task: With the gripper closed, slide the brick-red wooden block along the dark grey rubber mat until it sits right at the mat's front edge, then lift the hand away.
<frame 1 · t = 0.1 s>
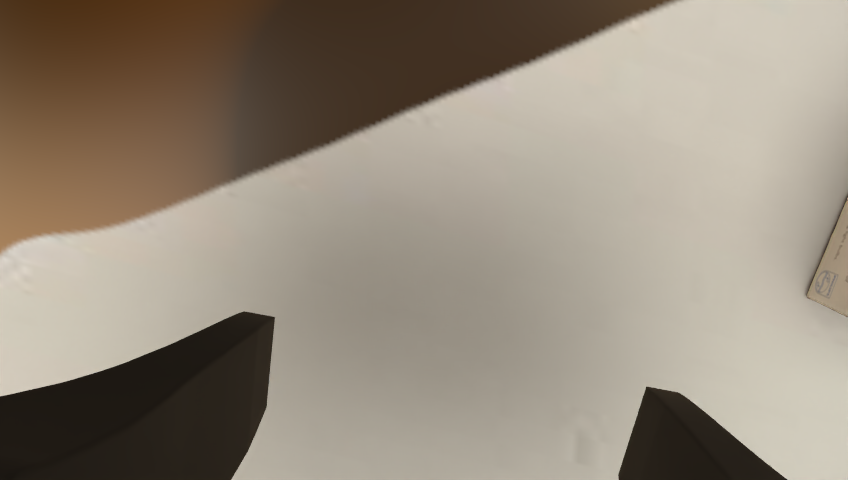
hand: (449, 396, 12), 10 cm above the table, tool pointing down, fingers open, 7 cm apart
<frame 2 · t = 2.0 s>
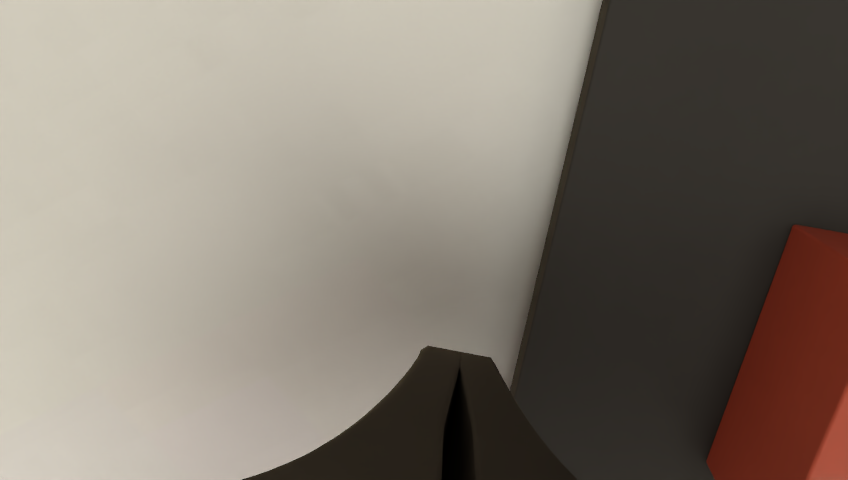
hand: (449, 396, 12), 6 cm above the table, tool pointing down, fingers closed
block: (842, 368, 17), point 1 cm above the table, touching mat
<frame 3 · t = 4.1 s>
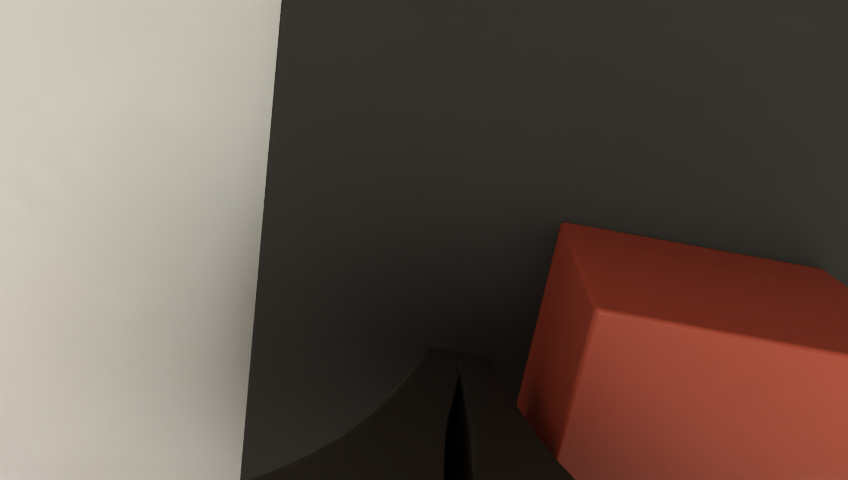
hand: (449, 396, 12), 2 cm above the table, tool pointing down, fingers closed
mat: (846, 417, 14), on the table
block: (641, 401, 13), point 1 cm above the table, touching gripper, mat
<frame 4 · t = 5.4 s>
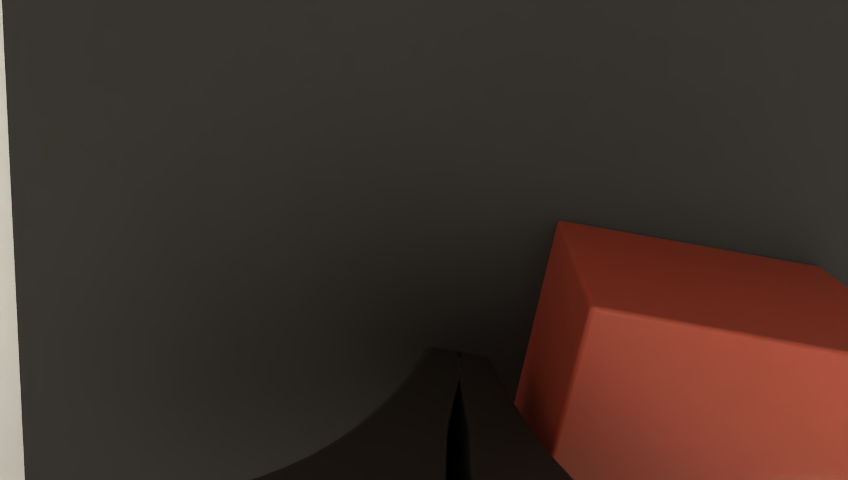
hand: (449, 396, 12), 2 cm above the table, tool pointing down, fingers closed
mat: (610, 373, 14), on the table
block: (639, 399, 13), point 1 cm above the table, touching gripper
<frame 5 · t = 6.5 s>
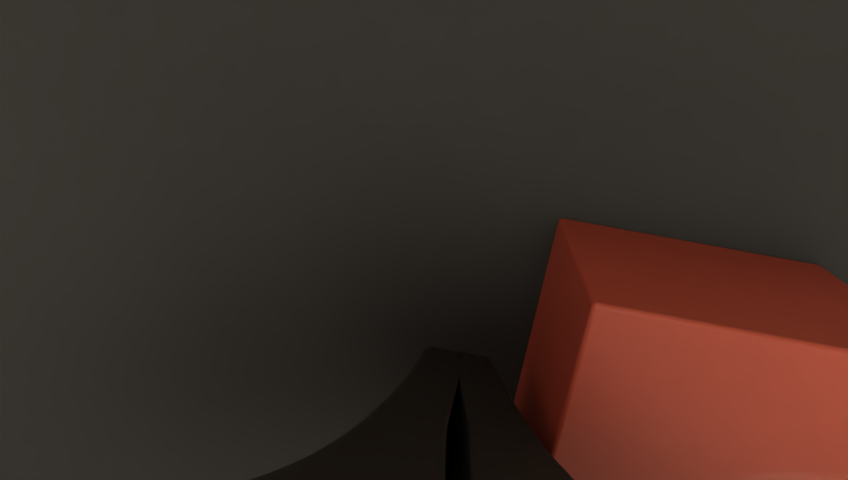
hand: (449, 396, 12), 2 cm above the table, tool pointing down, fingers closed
mat: (415, 336, 15), on the table
block: (639, 397, 13), point 1 cm above the table, touching gripper, mat
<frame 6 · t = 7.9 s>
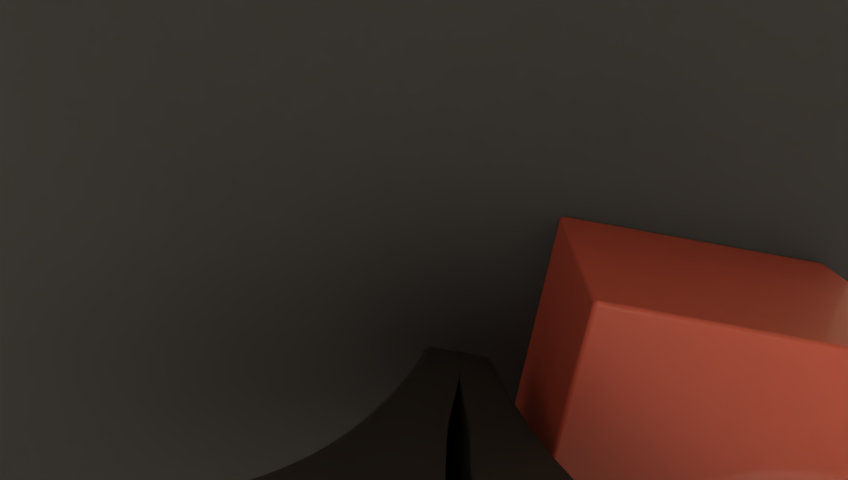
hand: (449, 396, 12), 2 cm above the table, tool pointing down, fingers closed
mat: (193, 294, 15), on the table
block: (641, 396, 13), point 1 cm above the table, touching gripper, mat
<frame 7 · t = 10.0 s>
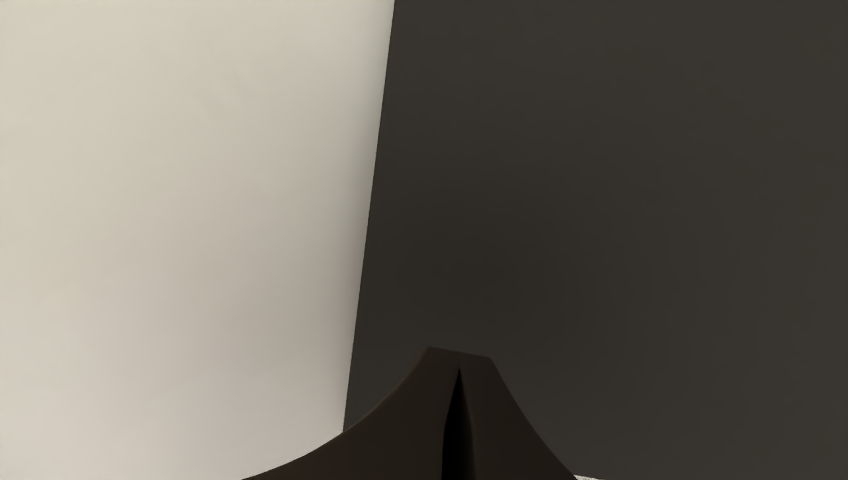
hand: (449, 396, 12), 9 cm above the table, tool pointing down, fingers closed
mat: (783, 248, 20), on the table
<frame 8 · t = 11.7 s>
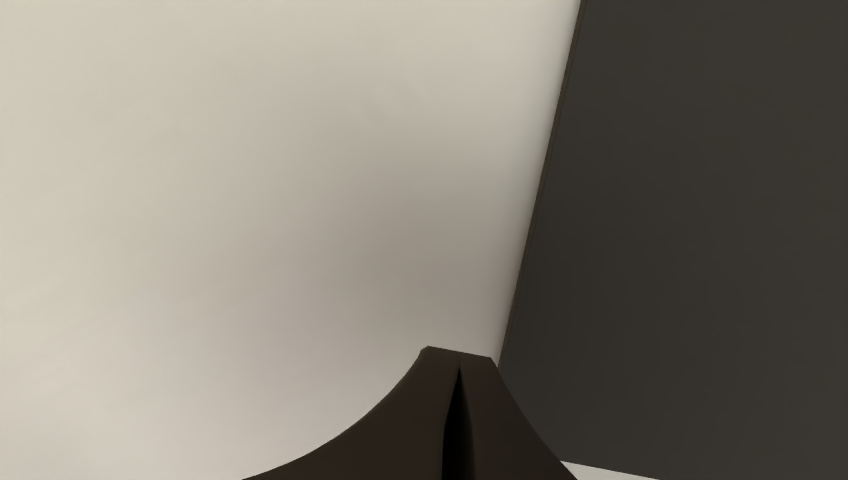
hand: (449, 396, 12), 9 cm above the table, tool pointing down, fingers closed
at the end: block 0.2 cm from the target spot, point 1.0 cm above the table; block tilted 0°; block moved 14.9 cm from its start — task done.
